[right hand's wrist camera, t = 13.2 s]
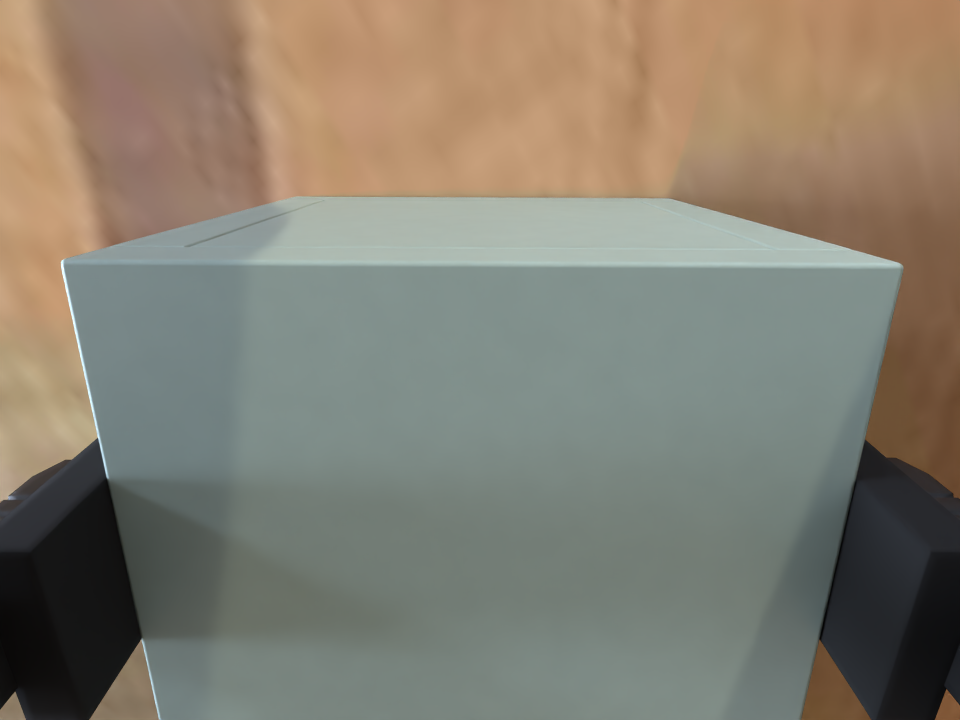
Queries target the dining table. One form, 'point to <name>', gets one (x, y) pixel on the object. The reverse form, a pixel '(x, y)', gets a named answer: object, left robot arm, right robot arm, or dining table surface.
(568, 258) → the cabinet
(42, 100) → the dining table surface
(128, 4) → the dining table surface
